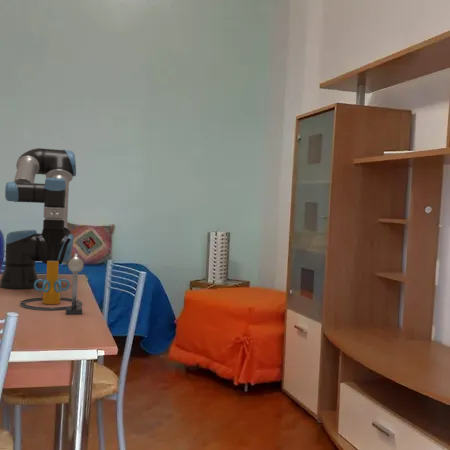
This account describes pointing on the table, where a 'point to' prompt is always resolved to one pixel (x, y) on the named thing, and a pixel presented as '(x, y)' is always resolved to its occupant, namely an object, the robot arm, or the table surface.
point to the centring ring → (47, 307)
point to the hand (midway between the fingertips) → (51, 281)
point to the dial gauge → (75, 283)
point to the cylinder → (51, 284)
